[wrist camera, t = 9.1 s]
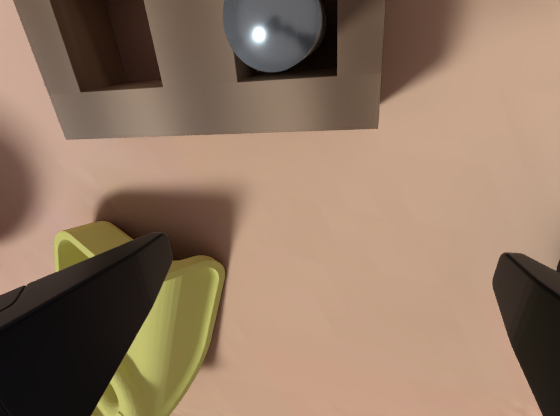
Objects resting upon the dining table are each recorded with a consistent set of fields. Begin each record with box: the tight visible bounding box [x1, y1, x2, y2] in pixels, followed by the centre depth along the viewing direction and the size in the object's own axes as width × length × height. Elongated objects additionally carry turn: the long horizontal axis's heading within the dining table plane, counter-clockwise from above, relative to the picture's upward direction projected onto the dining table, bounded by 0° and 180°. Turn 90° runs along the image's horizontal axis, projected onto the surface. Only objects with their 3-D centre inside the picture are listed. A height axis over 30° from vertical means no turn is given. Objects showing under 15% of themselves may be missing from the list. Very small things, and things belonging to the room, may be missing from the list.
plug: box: [223, 0, 327, 72], centre depth 14 cm, size 3×3×7 cm
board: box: [13, 0, 386, 140], centre depth 16 cm, size 16×9×4 cm, turn 95°
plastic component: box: [54, 221, 225, 416], centre depth 28 cm, size 20×7×10 cm
